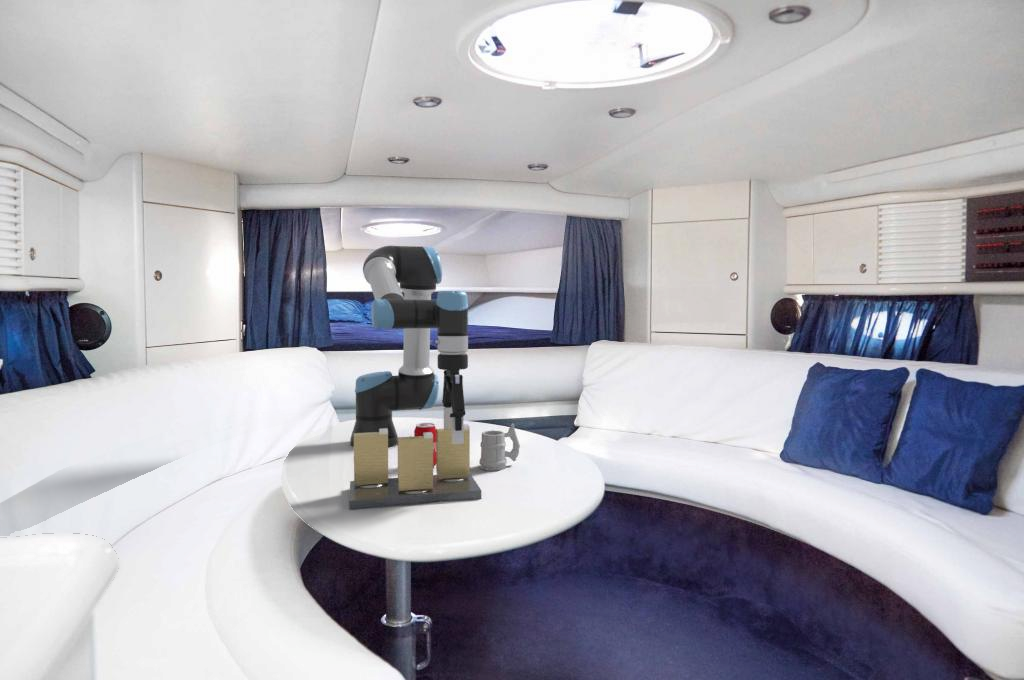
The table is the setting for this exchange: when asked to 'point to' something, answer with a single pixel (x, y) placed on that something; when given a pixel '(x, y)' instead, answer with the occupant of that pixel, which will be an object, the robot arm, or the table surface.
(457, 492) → the plate
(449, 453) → the tan upright panel
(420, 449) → the tan grey-ended block
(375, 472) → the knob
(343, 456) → the table surface
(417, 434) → the beverage can
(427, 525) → the table surface
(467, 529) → the table surface
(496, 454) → the mug
